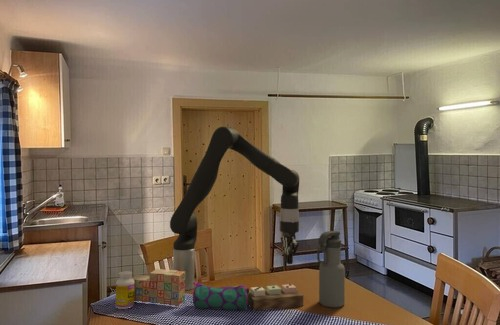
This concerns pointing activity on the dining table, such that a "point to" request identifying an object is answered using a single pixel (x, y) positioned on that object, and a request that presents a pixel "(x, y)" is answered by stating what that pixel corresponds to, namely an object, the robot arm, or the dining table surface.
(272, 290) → the button one dot
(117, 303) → the supplement bottle
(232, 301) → the pencil case
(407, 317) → the dining table surface
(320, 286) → the water bottle
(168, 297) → the stack of blocks
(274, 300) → the button panel
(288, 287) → the button two dots
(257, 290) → the button three dots
